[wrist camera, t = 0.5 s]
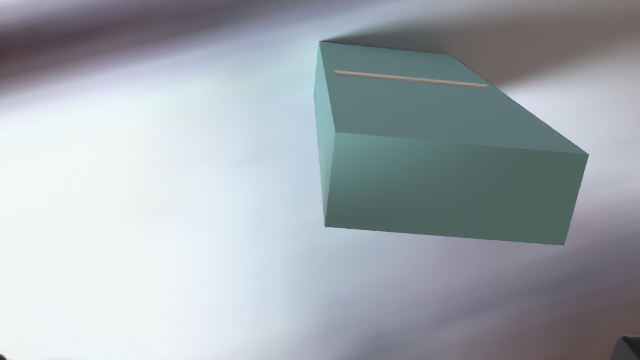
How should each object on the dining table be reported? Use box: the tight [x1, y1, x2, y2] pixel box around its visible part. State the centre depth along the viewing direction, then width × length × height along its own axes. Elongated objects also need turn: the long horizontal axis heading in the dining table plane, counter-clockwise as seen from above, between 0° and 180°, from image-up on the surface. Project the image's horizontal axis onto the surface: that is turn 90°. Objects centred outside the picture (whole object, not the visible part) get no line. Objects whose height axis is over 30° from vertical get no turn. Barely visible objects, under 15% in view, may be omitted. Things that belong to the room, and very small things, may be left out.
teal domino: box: [314, 42, 589, 245], centre depth 18 cm, size 2×5×12 cm, turn 85°
